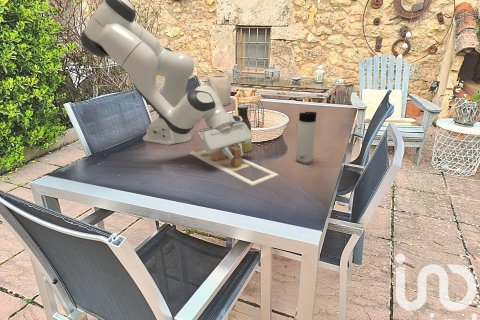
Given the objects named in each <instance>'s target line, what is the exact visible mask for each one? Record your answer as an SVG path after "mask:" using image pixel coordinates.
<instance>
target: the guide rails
mask: <svg viewBox="0 0 480 320" xmlns="http://www.w3.org/2000/svg"><path fill="white" fill-rule="evenodd" d="M188 153H189V155H192V156H193V157H195V158H197V159H199V160H201V161H203V162H205V163H207V164H209V165H211V166H212V167H215V168H217V169H218V170H220V171H222V172H224V173H226V174H227V175H230V176H232V177H234V178H236V179H238V180H240V181H242V182H244V183H245V184H247V185H249V186H251V187H254V186H256V185H259V184H262V183H263V182H266V181H269V180H271V179H274V178H276V177H277V178H278V177H279V175H280V174H279V173H276V172H274V171H273V170H270V169H268V168H266V167H263V166H261V165H258V164H256V163H254V162H252V161H249V160H248V159H246V158H243V157H241V162H242V163H244V164H246V165H249V167H250V166H251V167H252V168H255V169H257V170H259V171H262V172H264V173H266V174H268V175H266V176H263V177H261V178H258V179H256V180H250V179H249V178H246V177H244V176H242V175H241V174H238V173H236V171H234V172H233V171H231V170H229V169H227V168H225V167H223V166H221V165H219V164H217V163H215V162H213V161H211V160H209V159H207V158H205V157H203V156H201V155H199V154H197V153H195V152H193V151H189V152H188Z"/></svg>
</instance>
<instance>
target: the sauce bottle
mask: <svg viewBox="0 0 480 320" xmlns="http://www.w3.org/2000/svg"><path fill="white" fill-rule="evenodd" d="M248 110H249V107H248V105H243V104H241V105H238V106H237V116H241V117H242V119H243V121H242V122H243V123H245V124H246V125H247V127H248V128H249V130H250V132H251V133H252V126H251V122H250V119H249V117H248V116H249V115H248ZM252 144H253V143H252V139H251V140H250V141H249V142H248V143H245V144H242V152H243V154H244V153H250V152H252Z"/></svg>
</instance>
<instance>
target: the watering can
mask: <svg viewBox="0 0 480 320" xmlns="http://www.w3.org/2000/svg"><path fill="white" fill-rule="evenodd" d="M206 80H207V81H206V85H208V86H210V87H211V88H212V89H213V90H214V91H215V93H216V94H217V96H218V97H219V99H220V101H221V103H222V106H227V105H229V103H230V101H231V95H232V82H231V79H230V77H229V75H227V74H214V75H213V74H211V75H210V76H208V78H207V79H206Z"/></svg>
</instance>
